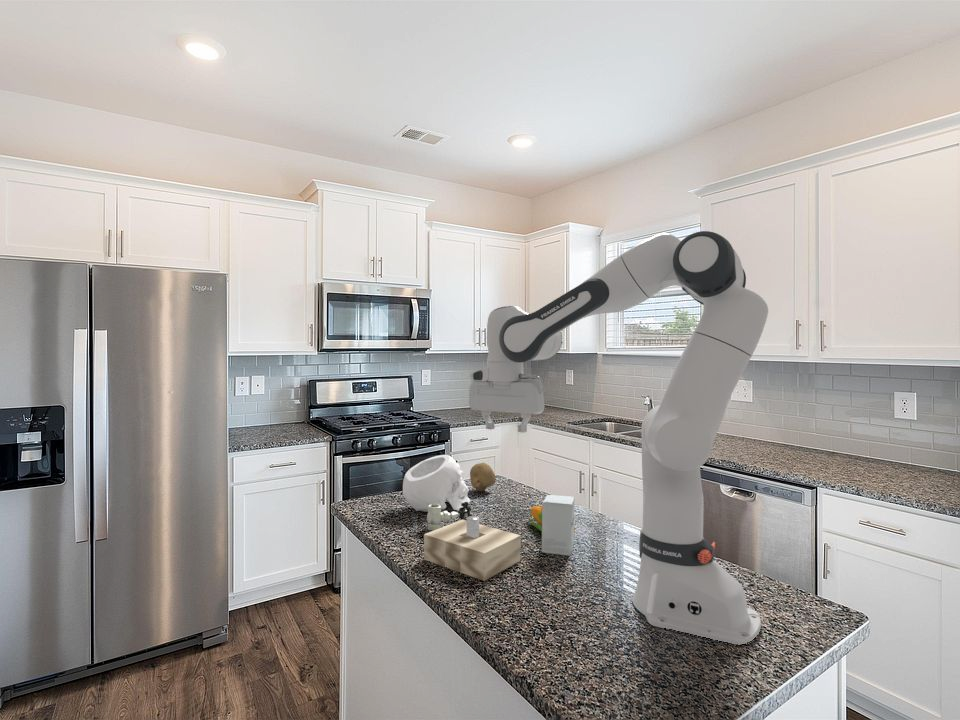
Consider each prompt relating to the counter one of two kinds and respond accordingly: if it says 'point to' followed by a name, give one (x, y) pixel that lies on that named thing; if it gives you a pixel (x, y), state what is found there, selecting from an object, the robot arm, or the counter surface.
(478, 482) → the potato
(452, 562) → the hole block
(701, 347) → the robot arm
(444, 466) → the skull planter
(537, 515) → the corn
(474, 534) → the steel peg
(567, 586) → the counter surface
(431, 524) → the valve
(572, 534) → the supplement box
